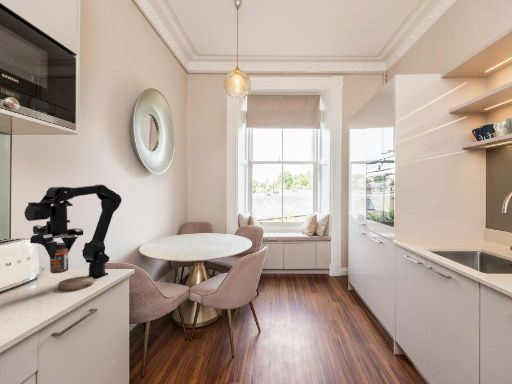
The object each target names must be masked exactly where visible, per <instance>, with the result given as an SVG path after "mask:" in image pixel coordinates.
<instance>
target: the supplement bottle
mask: <svg viewBox="0 0 512 384" xmlns="http://www.w3.org/2000/svg"><path fill="white" fill-rule="evenodd" d="M68 270H69V253H68V249H67V248H66V247H65V243H64V242H57V245H56V251H55V256H54V259H50V258H49V272H50V273H51V274H62V273H65V272H67V271H68Z"/></svg>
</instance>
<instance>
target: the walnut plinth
mask: <svg viewBox="0 0 512 384" xmlns="http://www.w3.org/2000/svg"><path fill="white" fill-rule="evenodd" d="M93 285H94V278H93V277H89V276H88V275H82V276H75V277H70V278H66V279H64V280H61V281H59V282H58V284H57V287H58V289H57V290H59V291H61V292H72V291H74V292H75V291H79V290H83V289H86V288H89V287H92V286H93Z"/></svg>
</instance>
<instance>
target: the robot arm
mask: <svg viewBox="0 0 512 384" xmlns="http://www.w3.org/2000/svg"><path fill="white" fill-rule="evenodd" d="M94 194H96V197H97V198H98V199H99V200H100V201H101V202H100V207H101V213H100V215H99V219H98V222H97V224H96V226H95V231H94V233H93V235H92V238H91V240H90V241H89V242H85V243H84V247H83V249H82V250H81V253H82V258H83V259H84V261H85V263H86V264H88V265H89V266H88V274H87V276H89V277H93V279H96V278H97V279H99V278H102V277H104V276H106V275H109V272H106V264H107V263H108V262H109V261H110V256H108V255H107V253H105V251H106V246H105V245H106V244H105V239H106V236H107V234H108V230H109V226H110V225H111V221H112V218H113V215H114V213H115V212H116V211H117V210H118V209H119V207H120V205H121V204H122V197H121V195H120V194H119V193H116V192H115V191H114V190H112V189H111V188H108V187H107V186H106V185H104V184H94V185H85V186H76V187H73V186H70V187H68V186H51V187H48V189H47V190H46V192H45V194H44V196H43V197H42V199H41V200H40V201H39V202H37V201H36V202H35V201H34V202H32V201H29V202H28V203H27V206H26V207H25V210H24V211H23V213H24V217H25V220H27V221H28V222H33V221H41V220H47V221H46V224H45V225H41V224H37V225H33V227H32V233H33V235H31V237H30V239H29V242H30V244H38V245H42V247H44V248H45V251H46V252H47V254H48V257H49V260H50V259H54V256H55V251H56V245H57V243H58V241H55V239H57V238H58V239H61V240H62V243H65V247H66V248H67V249H68V254H69V252H70V251H71V249H72V247H73V246H74V244H75V242H76V240H77V239H78V238H79V236H83V235H84V230H83V228H73V227H72V228H68V224H69V223H71V219H68V207H73V206H74V205H73V204H72V203H71V202H70V201H69V200H72V199H74V198H76V197H80V196H87V195H94ZM48 219H49V220H48Z"/></svg>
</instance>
